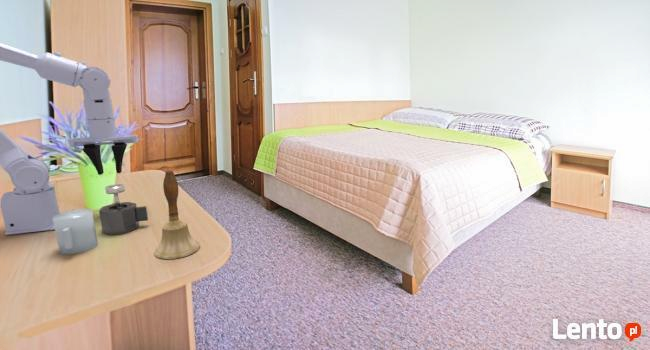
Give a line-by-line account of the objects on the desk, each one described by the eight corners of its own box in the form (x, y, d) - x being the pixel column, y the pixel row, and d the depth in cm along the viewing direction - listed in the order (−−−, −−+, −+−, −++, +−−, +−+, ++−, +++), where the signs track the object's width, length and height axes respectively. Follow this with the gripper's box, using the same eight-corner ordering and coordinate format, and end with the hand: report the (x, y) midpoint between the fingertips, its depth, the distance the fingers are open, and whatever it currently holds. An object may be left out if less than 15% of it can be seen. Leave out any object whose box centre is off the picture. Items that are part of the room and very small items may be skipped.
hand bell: (163, 242, 72) (153, 167, 68) (204, 240, 73) (197, 165, 69) (147, 261, 64) (135, 177, 60) (193, 258, 65) (184, 175, 61)
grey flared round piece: (107, 216, 76) (103, 189, 75) (112, 211, 80) (107, 185, 78) (126, 214, 77) (122, 187, 76) (129, 209, 81) (125, 183, 79)
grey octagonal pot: (100, 236, 75) (96, 213, 74) (108, 225, 81) (104, 204, 80) (146, 230, 78) (143, 208, 77) (150, 220, 84) (147, 199, 83)
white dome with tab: (49, 261, 64) (42, 225, 63) (66, 243, 72) (59, 211, 70) (89, 255, 66) (83, 221, 65) (101, 238, 74) (96, 207, 72)
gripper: (59, 121, 79) (71, 179, 82) (130, 118, 83) (139, 173, 86) (70, 119, 85) (80, 173, 88) (136, 116, 89) (144, 168, 93)
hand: (110, 173), depth 88 cm, fingers open, 3 cm apart
